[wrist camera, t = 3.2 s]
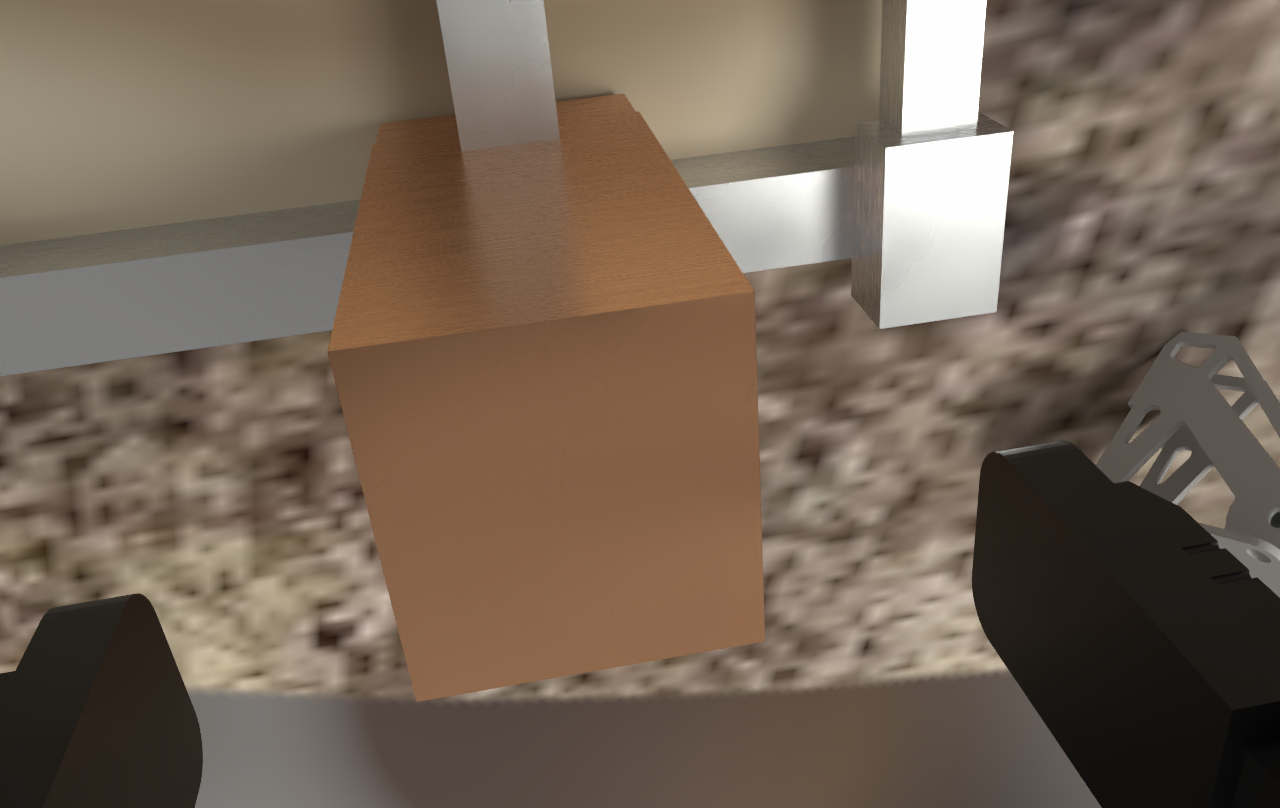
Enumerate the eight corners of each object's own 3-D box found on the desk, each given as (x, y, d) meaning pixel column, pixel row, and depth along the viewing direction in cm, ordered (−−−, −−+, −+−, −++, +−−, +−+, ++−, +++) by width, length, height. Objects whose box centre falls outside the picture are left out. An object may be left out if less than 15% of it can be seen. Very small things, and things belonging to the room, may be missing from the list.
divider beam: (-434, -110, 14) (-627, -93, 12) (983, -242, 16) (1085, -252, 14) (-166, 399, 18) (-266, 496, 16) (951, 243, 20) (1025, 307, 18)
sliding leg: (315, -197, 15) (187, -201, 8) (597, -222, 15) (738, -251, 8) (427, 359, 19) (416, 701, 12) (644, 328, 20) (764, 640, 12)
